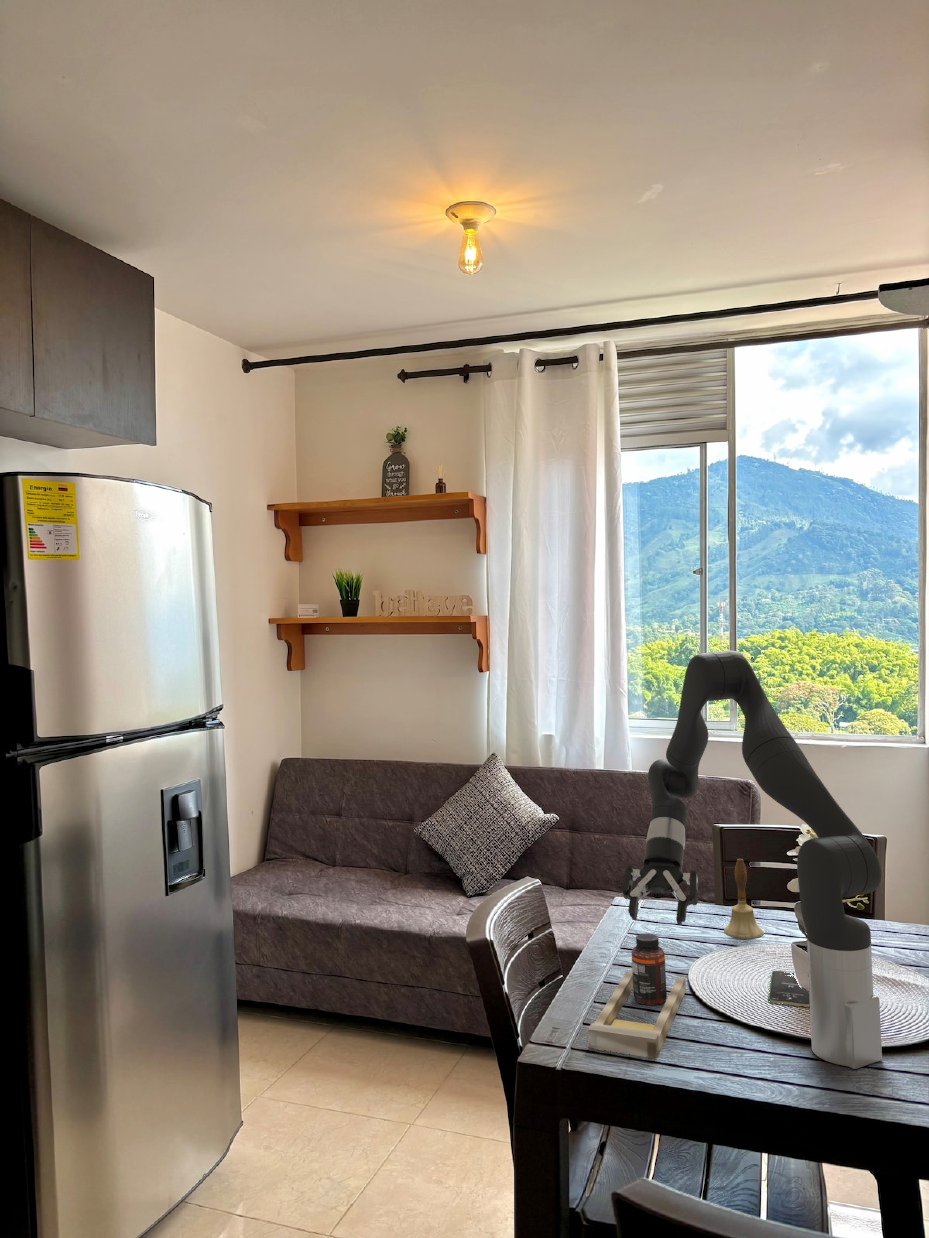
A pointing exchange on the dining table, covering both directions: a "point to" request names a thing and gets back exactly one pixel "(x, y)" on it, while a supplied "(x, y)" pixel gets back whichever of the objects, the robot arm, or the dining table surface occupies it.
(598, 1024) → the open wooden tray frame
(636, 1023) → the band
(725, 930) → the hand bell
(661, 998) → the supplement bottle
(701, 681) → the robot arm
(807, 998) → the small black book
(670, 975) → the dining table surface
